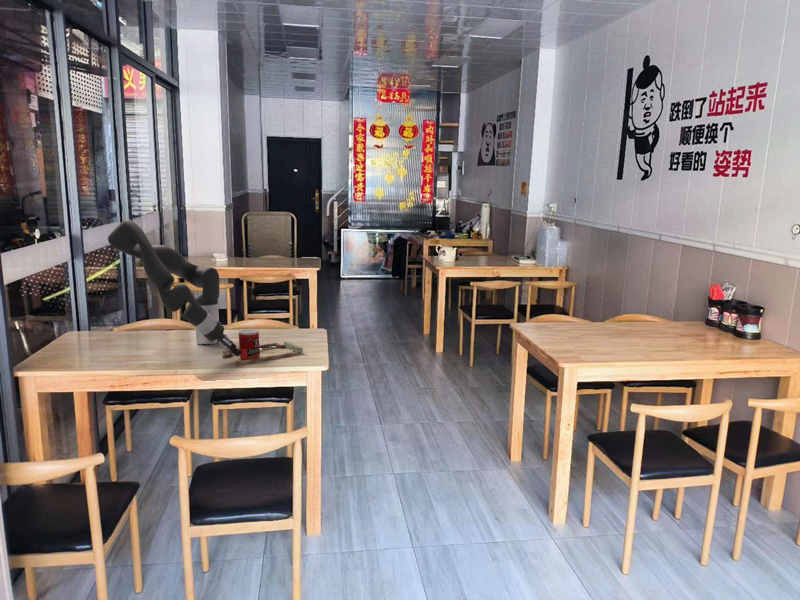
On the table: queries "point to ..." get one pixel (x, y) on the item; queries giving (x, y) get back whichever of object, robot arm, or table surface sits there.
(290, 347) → the brown pliers
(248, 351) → the canned food
